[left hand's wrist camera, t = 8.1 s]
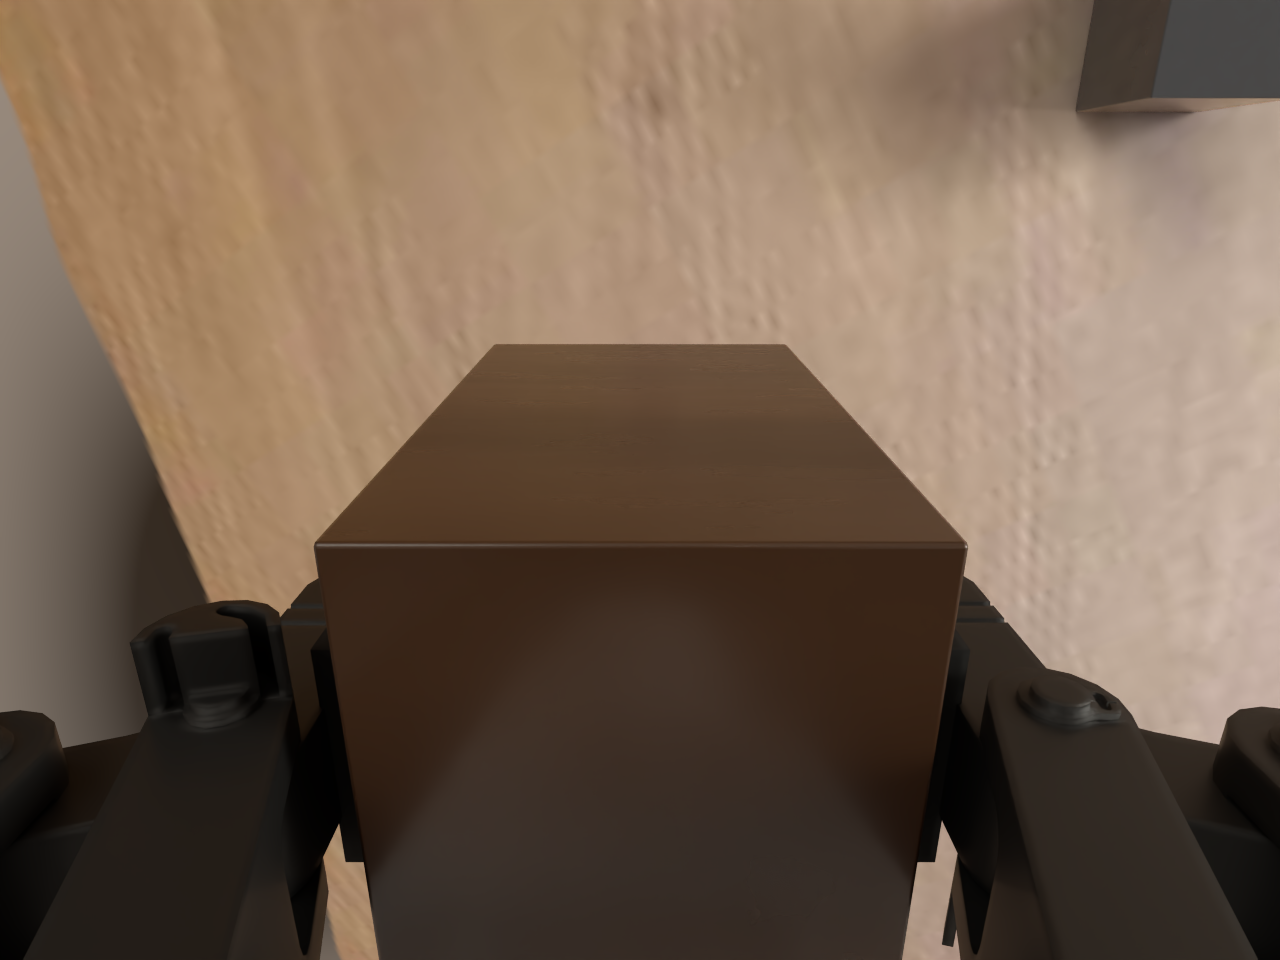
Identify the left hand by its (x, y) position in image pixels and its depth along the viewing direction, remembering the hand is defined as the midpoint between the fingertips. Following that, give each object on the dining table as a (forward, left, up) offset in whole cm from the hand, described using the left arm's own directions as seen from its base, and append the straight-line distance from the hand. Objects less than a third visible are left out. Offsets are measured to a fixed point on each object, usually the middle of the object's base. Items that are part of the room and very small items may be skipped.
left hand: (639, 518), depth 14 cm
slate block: (-10, +16, -15) cm, 24 cm away
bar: (+10, 0, 0) cm, 10 cm away
